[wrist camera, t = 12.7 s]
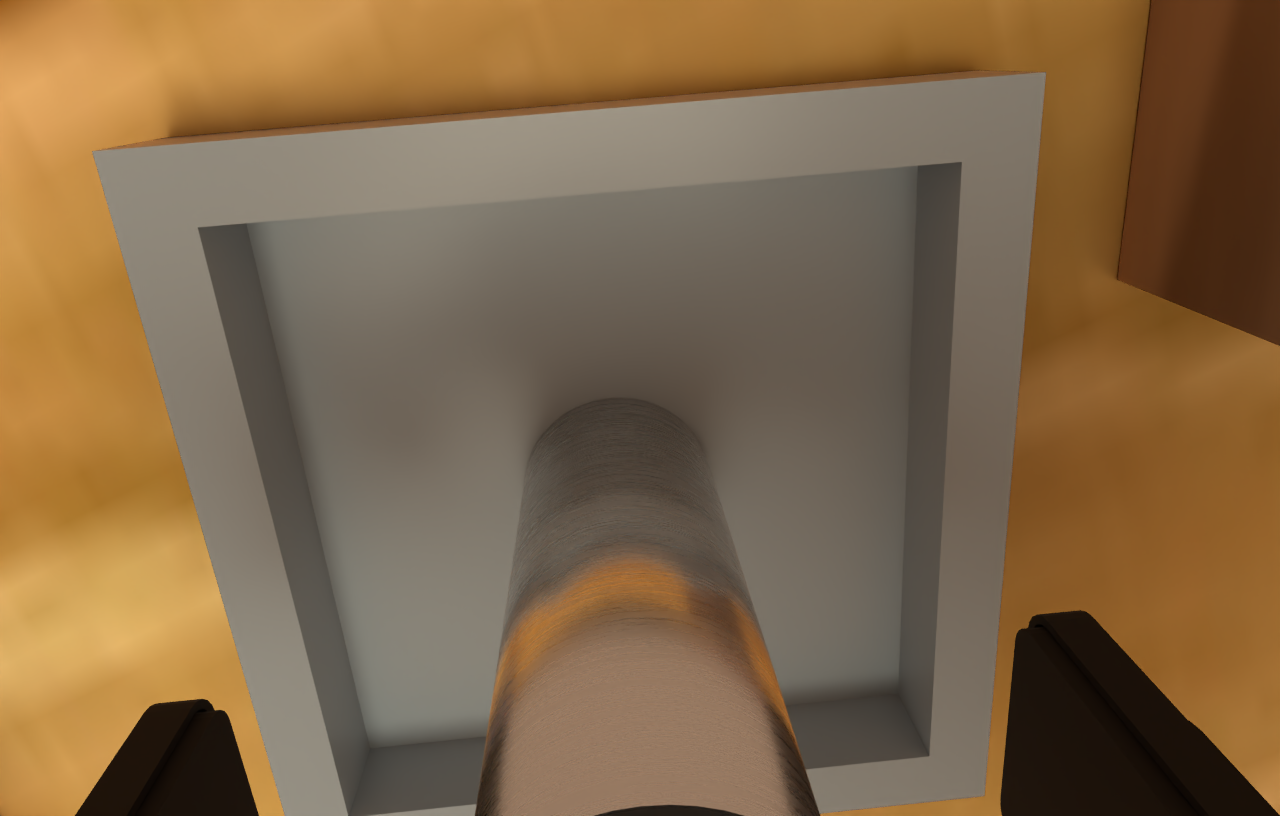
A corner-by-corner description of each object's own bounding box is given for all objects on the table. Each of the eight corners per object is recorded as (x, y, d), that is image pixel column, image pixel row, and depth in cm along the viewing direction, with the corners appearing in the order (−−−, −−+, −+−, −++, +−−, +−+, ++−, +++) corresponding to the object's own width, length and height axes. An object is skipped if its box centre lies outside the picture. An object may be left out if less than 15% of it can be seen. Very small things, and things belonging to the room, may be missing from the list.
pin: (705, 388, 17) (886, 861, 7) (714, 556, 18) (878, 1166, 8) (514, 406, 17) (404, 914, 7) (536, 573, 18) (475, 1213, 8)
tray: (976, 70, 16) (1045, 71, 13) (939, 713, 21) (984, 796, 18) (167, 137, 15) (91, 151, 13) (332, 776, 20) (300, 869, 18)
